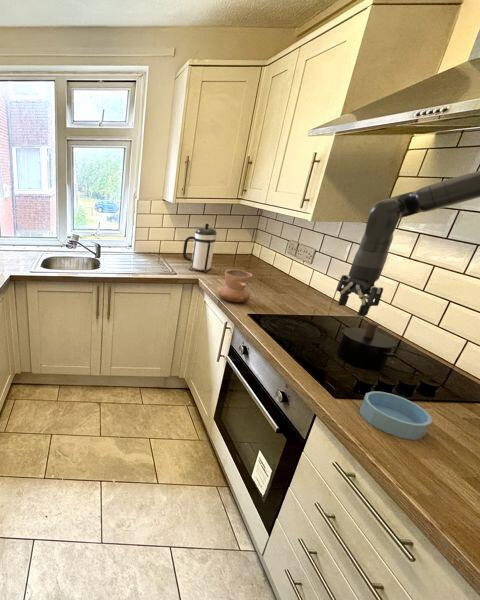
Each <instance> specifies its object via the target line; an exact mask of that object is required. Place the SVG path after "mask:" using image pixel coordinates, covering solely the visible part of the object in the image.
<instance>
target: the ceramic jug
mask: <svg viewBox="0 0 480 600" xmlns="http://www.w3.org/2000/svg"><path fill="white" fill-rule="evenodd" d="M252 278H253V274H252V272H251V273H250V272H249V271H246V270H242V269H237V268H229V269H226V270H225V271H224V280H225V282H224V283H225V286H222V287H221V288H219V290H218V296H219V297H220V298H221V299H223V300H225V301H226V302H229V303H235V304H237V303H238V304H239V303H246V302H247V301H249V300H250V298H251V293H250V291H249V290H247V289H246V287H247V286H248V285H249V283H250V281H252Z"/></svg>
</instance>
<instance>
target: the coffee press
mask: <svg viewBox="0 0 480 600" xmlns="http://www.w3.org/2000/svg"><path fill="white" fill-rule="evenodd" d="M194 235H195V236H193V235H192V236H188V237H187V238H186V239H185V240H184V243H183V250H182V254H183V255H182V257H183V259H184V260H185V261H187V262H190V267H189V269H188V270H189V271H191V272H192V271H193V270H198V271H203V274H208V270H209V269H211V270H212V261H213V255H214V249H215V244H216V239H219V236H218V232H217V230H216V229H215V228H214V227H210V224H209V223H205V224H204V226H202V227H201V226H200V227H198V228H196V230H195V231H194ZM191 240H193V248H192V257H191V258H190V257H188V256H187V248H188V242H189V241H191Z"/></svg>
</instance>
